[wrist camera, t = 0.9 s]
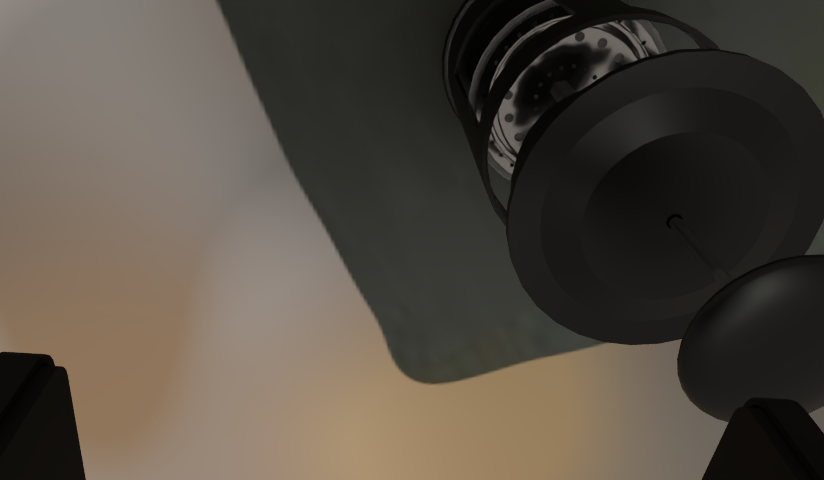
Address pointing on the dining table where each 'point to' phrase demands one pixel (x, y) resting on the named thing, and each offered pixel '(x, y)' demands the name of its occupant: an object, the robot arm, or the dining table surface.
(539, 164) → the french press
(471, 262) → the dining table surface
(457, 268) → the dining table surface
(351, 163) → the dining table surface
